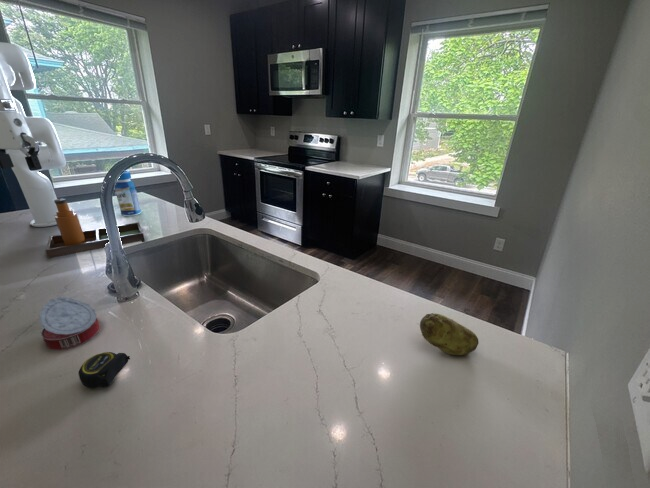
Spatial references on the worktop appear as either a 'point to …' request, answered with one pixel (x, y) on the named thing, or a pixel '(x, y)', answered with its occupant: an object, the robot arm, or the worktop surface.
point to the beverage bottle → (127, 195)
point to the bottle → (68, 224)
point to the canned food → (67, 323)
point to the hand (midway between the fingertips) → (21, 168)
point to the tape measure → (102, 369)
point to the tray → (93, 240)
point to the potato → (448, 334)
